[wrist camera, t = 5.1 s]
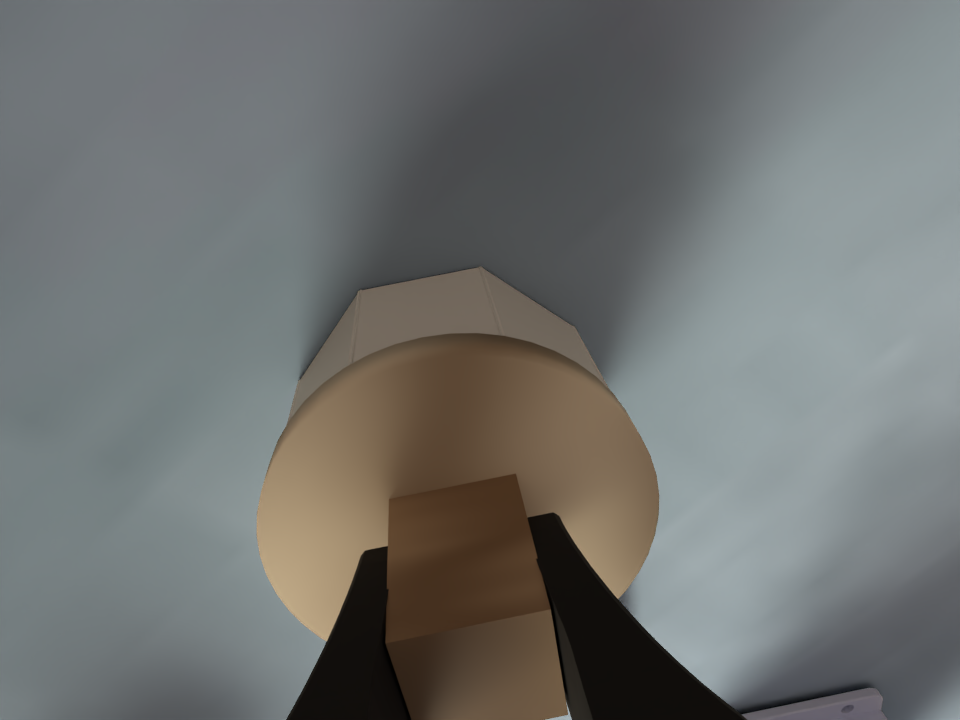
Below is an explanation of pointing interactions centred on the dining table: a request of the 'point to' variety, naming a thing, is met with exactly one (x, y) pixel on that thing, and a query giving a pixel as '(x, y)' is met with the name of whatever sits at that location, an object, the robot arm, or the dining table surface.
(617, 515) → the lid
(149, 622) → the dining table surface
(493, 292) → the bowl
